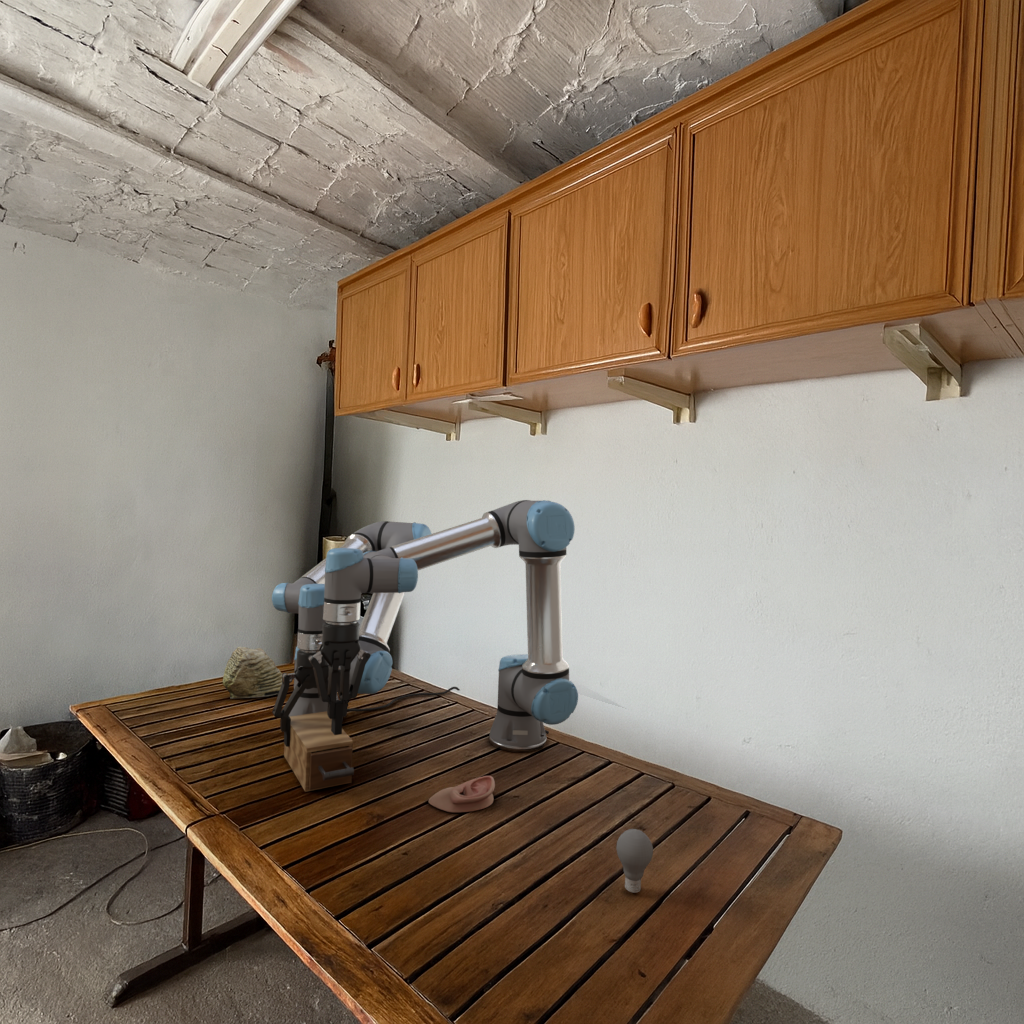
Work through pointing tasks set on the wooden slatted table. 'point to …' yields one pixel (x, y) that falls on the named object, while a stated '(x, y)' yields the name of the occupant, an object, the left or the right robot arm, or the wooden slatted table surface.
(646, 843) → the light bulb
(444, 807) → the anatomical model
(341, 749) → the drawer
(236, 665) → the fossil
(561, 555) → the right robot arm
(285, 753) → the cabinet
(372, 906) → the wooden slatted table surface
